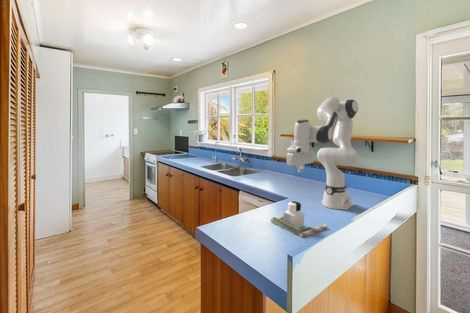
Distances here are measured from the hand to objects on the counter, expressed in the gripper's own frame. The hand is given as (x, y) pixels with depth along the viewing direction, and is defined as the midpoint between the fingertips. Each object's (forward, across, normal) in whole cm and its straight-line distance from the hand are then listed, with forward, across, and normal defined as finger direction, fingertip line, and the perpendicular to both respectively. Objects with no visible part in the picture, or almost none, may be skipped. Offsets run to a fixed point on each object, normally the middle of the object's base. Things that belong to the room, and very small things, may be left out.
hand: (300, 171), depth 142 cm
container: (+26, +14, +9) cm, 31 cm away
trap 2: (+26, +14, +16) cm, 34 cm away
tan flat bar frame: (+26, +11, +10) cm, 30 cm away
